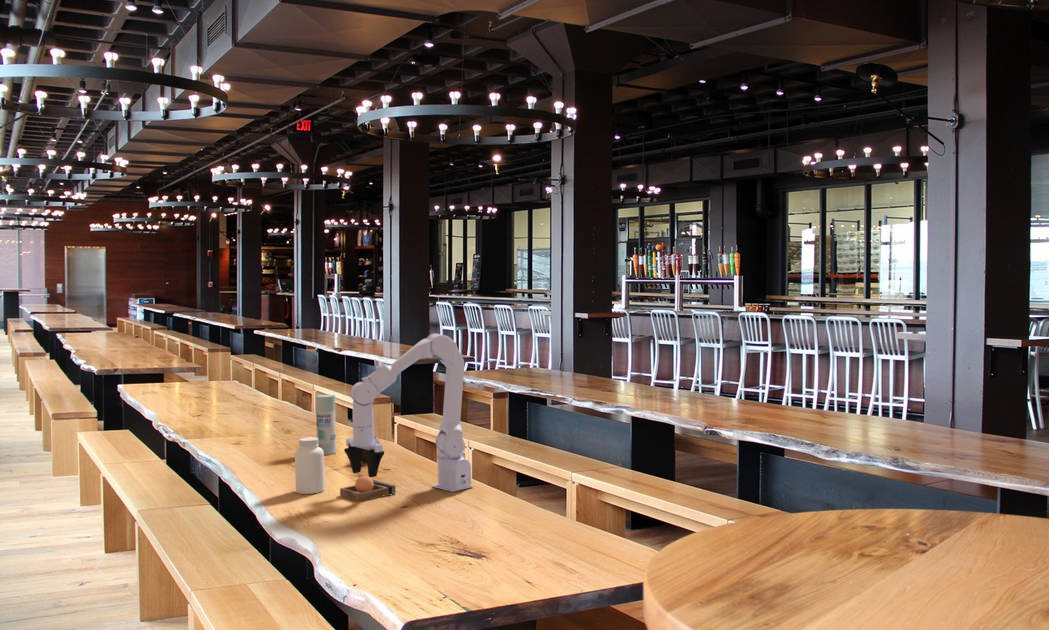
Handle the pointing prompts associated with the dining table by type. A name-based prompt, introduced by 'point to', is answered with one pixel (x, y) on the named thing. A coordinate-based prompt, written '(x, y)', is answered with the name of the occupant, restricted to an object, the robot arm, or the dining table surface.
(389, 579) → the dining table surface
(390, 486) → the rail
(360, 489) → the ball
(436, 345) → the robot arm
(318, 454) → the pill bottle
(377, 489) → the tray
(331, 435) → the spray paint can
